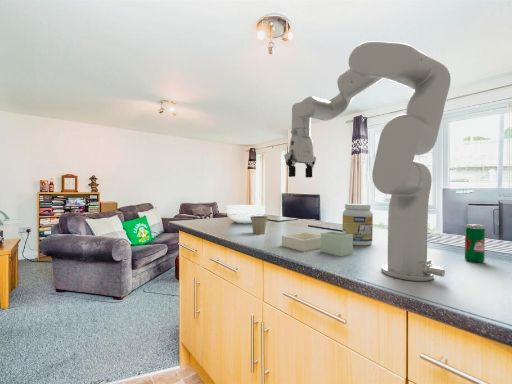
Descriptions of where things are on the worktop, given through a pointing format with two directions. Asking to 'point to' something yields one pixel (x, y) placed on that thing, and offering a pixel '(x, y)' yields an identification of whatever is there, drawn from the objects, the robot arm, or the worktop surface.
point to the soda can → (475, 243)
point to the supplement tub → (358, 223)
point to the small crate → (337, 243)
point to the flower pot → (259, 224)
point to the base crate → (302, 241)
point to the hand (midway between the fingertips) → (300, 177)
